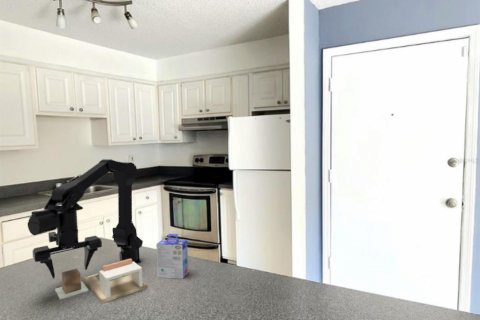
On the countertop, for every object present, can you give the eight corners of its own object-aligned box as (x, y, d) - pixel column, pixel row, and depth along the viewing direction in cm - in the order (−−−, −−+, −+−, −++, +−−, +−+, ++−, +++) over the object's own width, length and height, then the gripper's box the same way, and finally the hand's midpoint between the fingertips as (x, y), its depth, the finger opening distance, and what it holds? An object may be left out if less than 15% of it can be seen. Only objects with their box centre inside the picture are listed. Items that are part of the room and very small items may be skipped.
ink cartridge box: (189, 272, 111) (187, 233, 110) (183, 279, 106) (182, 238, 105) (163, 271, 113) (161, 232, 112) (156, 277, 107) (155, 237, 106)
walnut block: (77, 284, 102) (76, 268, 102) (81, 289, 99) (80, 272, 99) (62, 288, 99) (61, 272, 99) (65, 294, 96) (64, 277, 96)
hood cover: (134, 278, 104) (133, 257, 104) (142, 285, 99) (141, 263, 98) (100, 289, 97) (98, 266, 97) (107, 297, 92) (105, 273, 91)
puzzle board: (124, 269, 115) (124, 265, 115) (147, 288, 100) (147, 284, 100) (84, 280, 106) (84, 277, 106) (102, 303, 91) (101, 299, 91)
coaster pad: (82, 282, 105) (81, 281, 105) (88, 291, 99) (88, 289, 99) (55, 290, 100) (54, 288, 100) (60, 300, 94) (59, 298, 94)
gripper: (91, 216, 110) (94, 258, 111) (28, 226, 98) (32, 274, 99) (101, 222, 101) (103, 268, 102) (33, 234, 89) (37, 286, 90)
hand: (70, 273), depth 99 cm, fingers open, 9 cm apart
